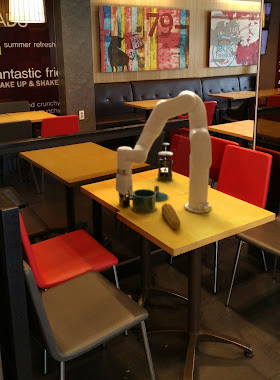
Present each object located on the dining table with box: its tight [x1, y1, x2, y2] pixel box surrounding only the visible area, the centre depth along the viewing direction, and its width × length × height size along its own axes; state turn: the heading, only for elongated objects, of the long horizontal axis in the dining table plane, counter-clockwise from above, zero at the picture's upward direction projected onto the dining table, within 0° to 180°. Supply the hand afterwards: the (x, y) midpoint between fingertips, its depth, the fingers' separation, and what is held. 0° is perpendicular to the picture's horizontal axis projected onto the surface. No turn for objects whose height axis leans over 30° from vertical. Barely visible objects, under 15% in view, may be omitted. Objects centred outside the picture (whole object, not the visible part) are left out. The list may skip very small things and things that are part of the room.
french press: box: [156, 142, 174, 183], centre depth 241 cm, size 12×9×23 cm
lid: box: [153, 185, 169, 202], centre depth 212 cm, size 12×12×7 cm
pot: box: [128, 188, 160, 214], centre depth 197 cm, size 11×17×8 cm
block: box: [118, 197, 125, 209], centre depth 202 cm, size 4×4×4 cm
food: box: [161, 202, 181, 230], centre depth 183 cm, size 21×6×6 cm, turn 12°
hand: (124, 205), depth 202 cm, fingers closed on block, 4 cm apart
